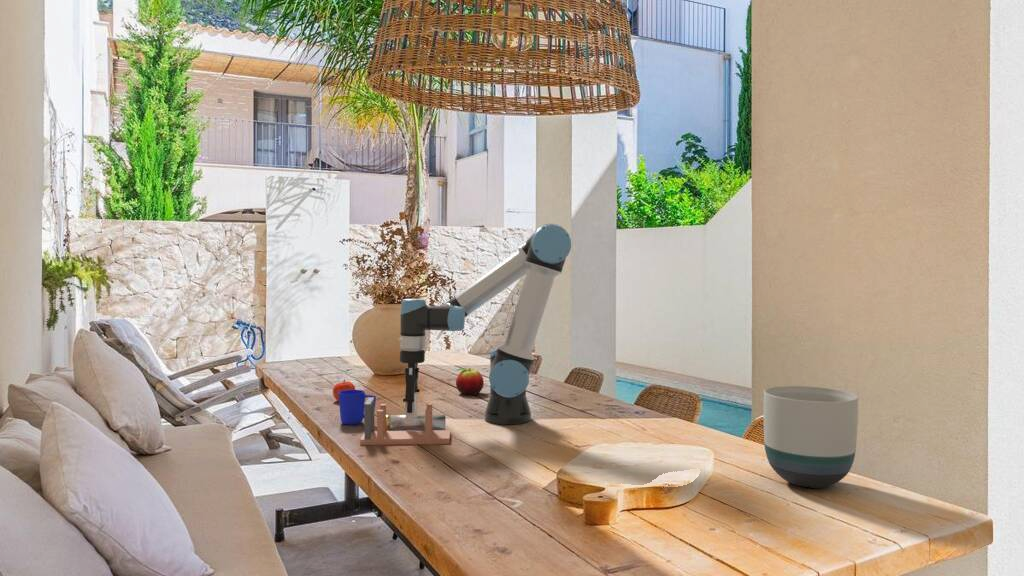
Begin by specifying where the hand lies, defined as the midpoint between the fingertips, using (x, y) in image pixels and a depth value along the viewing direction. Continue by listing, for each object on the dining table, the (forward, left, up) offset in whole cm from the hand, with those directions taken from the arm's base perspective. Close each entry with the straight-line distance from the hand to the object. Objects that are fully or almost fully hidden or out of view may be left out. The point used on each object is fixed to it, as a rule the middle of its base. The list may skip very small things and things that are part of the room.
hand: (411, 418), depth 226 cm
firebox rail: (+1, +13, -3) cm, 13 cm away
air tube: (0, +1, -2) cm, 2 cm away
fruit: (-18, -58, -4) cm, 61 cm away
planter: (-96, +60, -4) cm, 114 cm away
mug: (+18, -9, -4) cm, 20 cm away
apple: (+28, -46, -4) cm, 54 cm away
